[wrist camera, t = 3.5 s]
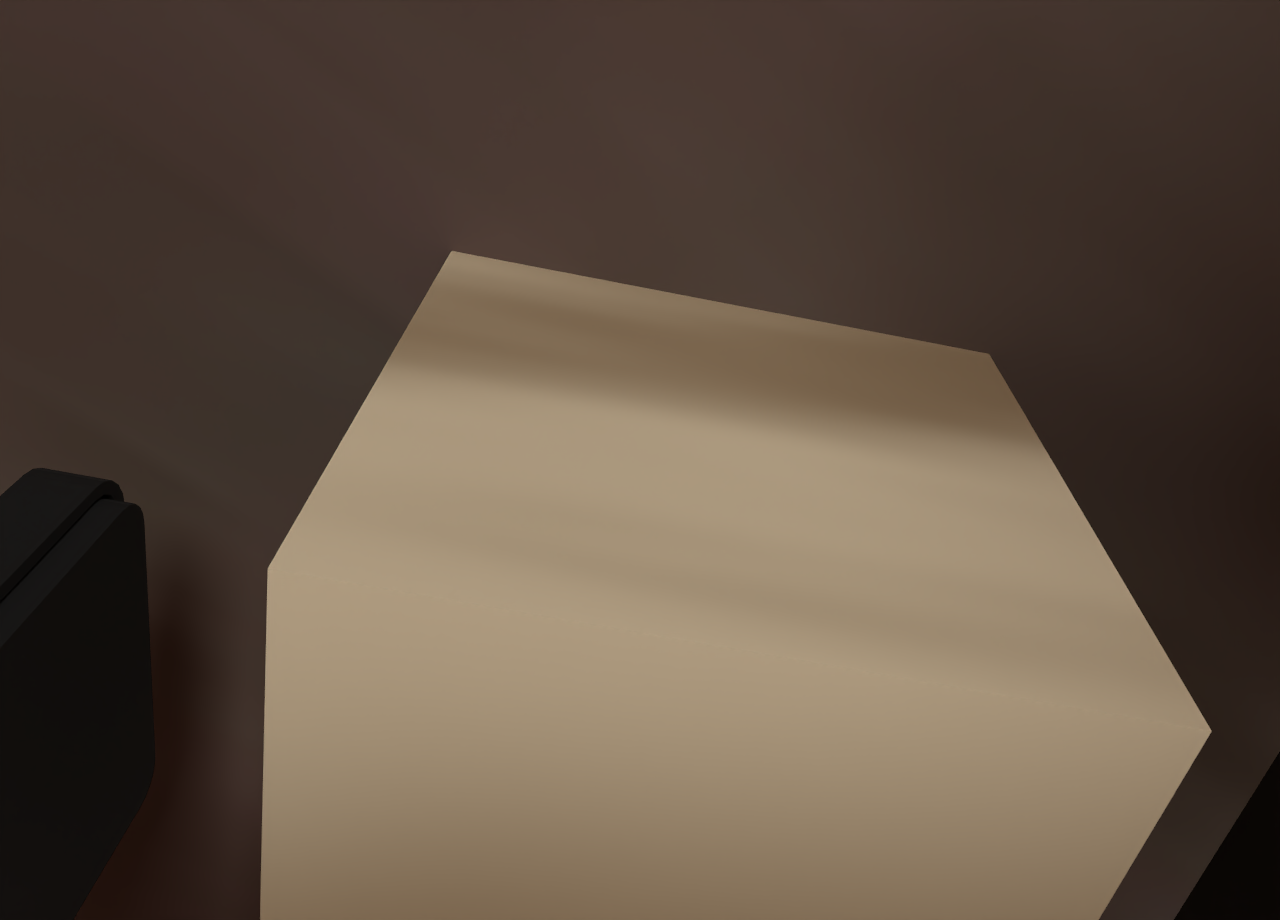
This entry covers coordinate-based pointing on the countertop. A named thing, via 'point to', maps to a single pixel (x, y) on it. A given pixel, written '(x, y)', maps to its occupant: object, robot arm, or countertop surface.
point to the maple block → (699, 632)
